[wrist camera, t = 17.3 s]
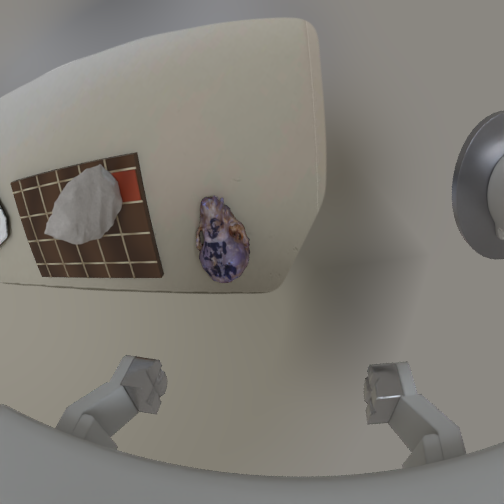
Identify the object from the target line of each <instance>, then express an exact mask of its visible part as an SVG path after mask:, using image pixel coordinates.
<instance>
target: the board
mask: <svg viewBox="0 0 504 504" xmlns="http://www.w3.org/2000/svg"><path fill="white" fill-rule="evenodd" d="M99 164H101V165H102V166H103V167H104V168H105V169H106V170H107V171H109V172H110V173H111V174H112V176H113V177H114V178H115V179H116V180H117V181H118V185H119V189H120V194H121V198H122V208H121V210H120V212H119V213H118V214H117V216H116V219H115V220H114V224H113V226H111V227H110V229H109V230H108V232H105V233H104V235H103V236H102V237H101V238H100V239H95V240H90V241H88V242H86V243H83V244H78V245H76V244H72V243H69V242H67V241H64V240H58V239H55V238H54V237H52V236H49V235H47V234H44V232H45V230H46V223H47V222H48V220H49V217H50V216H51V215H52V210H53V208H54V202H55V201H56V200H57V199H58V197H59V195H60V193H61V192H62V190H63V189H64V188H65V186H66V184H67V183H68V182H70V181H71V180H72V179H73V178H74V177H76V176H78V175H80V173H82V172H83V171H84V170H85V169H88V168H92V167H96V166H98V165H99ZM11 187H12V190H13V194H14V198H15V201H16V205H17V208H18V211H19V215H20V219H21V221H22V224H23V227H24V230H25V233H26V236H27V239H28V242H29V244H30V247H31V250H32V253H33V255H34V258H35V260H36V264H37V265H38V268H39V270H40V273H41V275H42V277H68V278H69V277H87V278H89V277H90V278H162V276H163V274H164V273H163V269H162V265H161V261H160V257H159V253H158V249H157V245H156V241H155V237H154V233H153V228H152V224H151V220H150V215H149V211H148V206H147V201H146V197H145V192H144V187H143V182H142V177H141V171H140V166H139V161H138V155H137V152H136V153H130V154H125V155H119V156H114V157H109V158H104V159H99V160H94V161H90V162H85V163H81V164H76V165H72V166H68V167H64V168H60V169H56V170H52V171H48V172H44V173H40V174H37V175H33V176H30V177H26V178H23V179H19V180H16V181H13V182H11Z"/></svg>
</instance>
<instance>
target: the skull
mask: <svg viewBox="0 0 504 504" xmlns="http://www.w3.org/2000/svg"><path fill="white" fill-rule="evenodd" d="M200 231H203V235H204V244H201V242H200V235H199V234H200ZM239 234H240V235H241V239H240V238H239ZM234 235H235V236H234ZM196 247H197V249H198V250H199V251H200V254H199V259H200V261H201V263H202V266H203V269H204V270H205V271H206V272H207V273H208V274H209V276H210V277H211V278H212V279H213V280H214V281H217V282H221V283H229V282H232V281H233V280H234V279H236V278H238V277H240V276H241V275H242V273H243V271H244V269H245V268H246V267H247V265H248V261H249V254H250V250H249V238H248V237H247V236H246V232H245V228H244V226H243V224H242V223H241V222H239V221H238V220H237V219H236V218H235V217H234V215H233V213H232V212H231V211H230V208H229V207H228V206H227V205H225V206H224V201H223V198H221V200H220V201H219V200H218V198H217V197H215V196H213V197H207V198H206V197H205V198H204V199H203V200H202V201H201V207H200V226H199V228H198V230H197V233H196Z"/></svg>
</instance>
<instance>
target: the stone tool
mask: <svg viewBox="0 0 504 504" xmlns="http://www.w3.org/2000/svg"><path fill="white" fill-rule="evenodd" d="M121 208H122V198H121V194H120V189H119V185H118V181H117V180H116V179H115V178H114V177H113V176H112V174H111V173H110V172H109V171H107V170H106V169H105V168H104V167H103V166H102V165H101V164H99V165H98V166H96V167H92V168H88V169H85V170H84V171H83V172H82V173H80V175H78V176H76V177H74V178H73V179H72V180H71V181H70V182H68V183H67V184H66V186H65V188H64V189H63V190H62V192H61V193H60V195H59V197H58V199H57V200H56V201H55V202H54V208H53V210H52V215H51V216H50V217H49V220H48V222H47V223H46V230H45V232H44V234H47V235H49V236H52V237H54V238H55V239H58V240H64V241H67V242H69V243H72V244H76V245H78V244H83V243H86V242H88V241H90V240H95V239H100V238H101V237H102V236H103V235H104V233H105V232H108V230H109V229H110V227H111V226H113V224H114V220H115V219H116V216H117V214H118V213H119V212H120V210H121Z"/></svg>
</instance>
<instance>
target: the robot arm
mask: <svg viewBox="0 0 504 504" xmlns="http://www.w3.org/2000/svg"><path fill="white" fill-rule="evenodd" d="M487 202H488V208H489V211H490V214H491V216H492V218H493V220H494V222H495V231H496V236H497V237H498V238H499V239H501V240H504V156H503V157H502V158H501V159H500V160H499V161H498V163H497V164H496V166H495V168H494V169H493V172H492V174H491V177H490V180H489V184H488V191H487ZM161 367H162V365H161V363H160V360H156V359H149V358H142V357H137V356H130V355H126V356H124V357H123V358H122V360H121V362H120V364H119V366H118V367H117V369H116V371H115V373H114V375H113V377H112V378H111V380H110V382H109V383H108V382H106V383H104V384H103V385H101V386H100V387H98V388H97V389H95V390H94V391H92V392H90V393H89V394H87V395H86V396H84V397H82V398H81V399H79V400H78V401H76V402H74V403H73V404H71V405H70V406H68V407H67V408H66V410H65V412H64V414H63V416H62V417H61V419H60V421H59V423H58V424H57V426H56V428H53V427H51V426H49V425H46V424H44V423H42V422H39V421H37V420H35V419H33V418H31V417H29V416H27V415H25V414H22V413H20V412H18V411H16V410H15V409H12V408H11V407H9V406H7V405H4V404H0V504H504V442H503V443H500V444H497V445H494V446H491V447H488V448H485V449H482V450H479V451H476V452H472V453H469V454H466V451H465V447H464V443H463V439H462V436H461V432H460V428H459V427H458V426H457V425H456V424H455V423H454V422H452V421H451V420H450V419H449V418H448V417H447V416H446V415H445V414H443V413H442V412H441V411H440V410H439V409H437V407H435V406H434V405H433V404H432V403H431V402H430V401H429V400H427V399H426V398H425V397H424V396H423V395H422V394H417V390H416V387H415V383H414V380H413V376H412V373H411V369H410V366H409V364H408V362H398V363H385V364H374V365H369V367H368V371H367V372H368V377H367V378H365V383H364V399H365V400H364V401H365V402H366V403H367V404H368V405H367V408H366V416H367V424H380V423H388V424H389V425H390V426H391V428H392V429H393V430H394V431H395V433H396V434H397V435H398V436H399V437H400V439H401V440H402V441H403V442H404V444H405V445H406V446H407V447H408V448H409V450H410V451H411V452H412V453H411V455H410V456H409V457H408V458H407V460H406V461H405V462H404V463H403V465H402V467H403V469H397V470H390V471H382V472H376V473H365V474H354V475H341V476H320V477H319V476H318V477H283V476H261V475H260V476H259V475H247V474H237V473H227V472H219V471H212V470H205V469H198V468H192V467H186V466H181V465H176V464H171V463H166V462H161V461H157V460H152V459H148V458H144V457H140V456H136V455H132V454H128V453H125V452H122V451H118V450H117V448H118V447H117V445H116V443H115V442H114V441H113V440H112V439H111V438H110V437H111V436H112V435H114V434H115V433H116V432H117V431H118V430H119V429H121V428H122V427H123V426H124V425H125V424H126V423H127V422H129V421H130V420H131V419H132V418H133V417H134V416H135V415H136V414H138V411H139V412H145V413H151V414H157V412H158V409H159V407H160V404H161V400H160V397H161V396H162V395H163V394H165V391H166V388H167V376H166V374H165V372H164V371H162V370H161Z"/></svg>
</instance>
